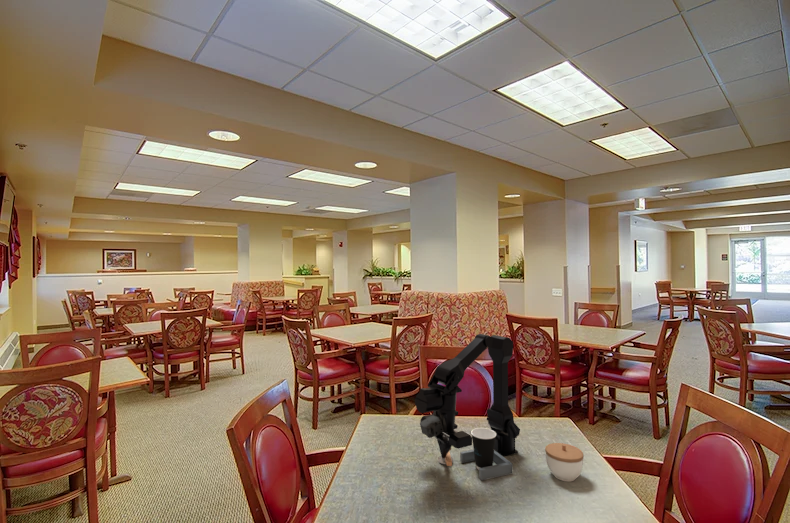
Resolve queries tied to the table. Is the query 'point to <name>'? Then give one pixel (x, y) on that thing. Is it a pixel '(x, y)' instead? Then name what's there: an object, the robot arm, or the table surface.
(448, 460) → the lever
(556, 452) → the lidded jar
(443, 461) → the post
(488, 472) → the holder
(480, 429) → the dixie cup
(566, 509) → the table surface
